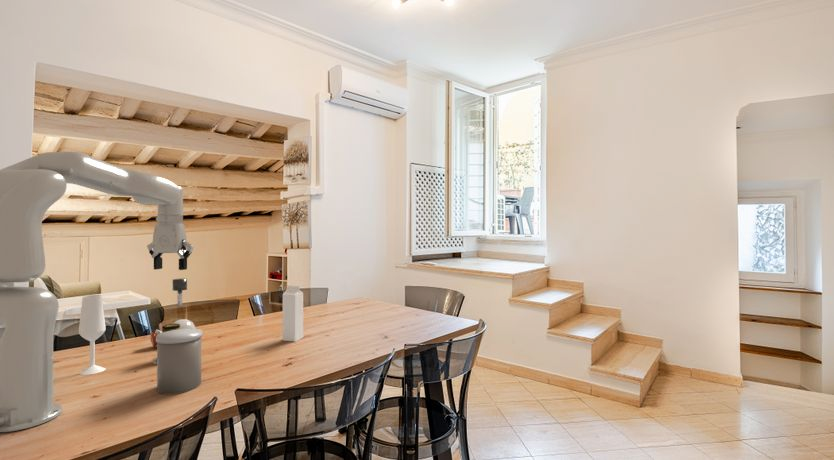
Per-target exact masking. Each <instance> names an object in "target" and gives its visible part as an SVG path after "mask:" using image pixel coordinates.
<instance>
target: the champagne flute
mask: <svg viewBox="0 0 834 460" xmlns="http://www.w3.org/2000/svg"><path fill="white" fill-rule="evenodd" d="M79 318H80V319H79V324H78V325H79V326H78V335H80V336H81V338H83V339H84V340H86V341H89V366H87V367H86V368H84V369H82V370H81V371H79V372H78V375H80V376H89V375H90V376H91V375H95V374H99V373H102V372H104V371H105V370H106V368H105V367H102V366H101V365H96V364H95V363H96V360H95V359H96V356H95V355H96V354H95V353H96V351H95V350H96V349H95V347H96V345H95V344H96V343H95V342H96V340H98V339H99V338H100V337H101V336H102V335H104V333H105V332H106V320H105V311H104V303H103V295H102V294H89V295H88V294H87V295H84V296H83V295H82V299H81V308H80V317H79Z"/></svg>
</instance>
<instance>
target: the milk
mask: <svg viewBox="0 0 834 460" xmlns="http://www.w3.org/2000/svg"><path fill="white" fill-rule="evenodd" d="M303 338H304V292H303V291H301V290H300V285H286V290H285V291H284V292H283V293H282V341H288V342H297V341H299V340H302V339H303Z"/></svg>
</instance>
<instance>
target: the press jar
mask: <svg viewBox="0 0 834 460" xmlns="http://www.w3.org/2000/svg"><path fill="white" fill-rule="evenodd" d="M203 334H204V333H203V330H202V329H200V328H199V329H198V328H195V329H178V330H172V331H167V332H163V333H160V334H158V335H157V336H156V342H157V346H156V347H157V348H156V352H157V356H156V357H157V364H156V371H157V372H156V380H157V381H156V382H157V383H156V387H157V389H156V390H157V392H158V393H159V394H164V395H171V394H172V395H174V394H175V395H176V394H180V393H185V392H189V391H192V390H194V389H197V388H198V387H200V386H201V384H202V337H203Z"/></svg>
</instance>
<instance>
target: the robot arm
mask: <svg viewBox="0 0 834 460" xmlns="http://www.w3.org/2000/svg"><path fill="white" fill-rule="evenodd" d="M67 184H69V185H70V184H72V185H77V186H80V187H84V188H87V189H90V190H94V191H97V192H101V193H104V194H108V195H111V196H119V197H131V198H132V199H133V200H134V202H136V203H138V204H140V205H146V206H156V205H157V216H156V218H155V221H157V223H156V224H155V225H154V229H153V235H152V242H150V243H149V244H148V245H146V247H147V250H148V252H149V255H151V258H152V259H153V270H162V269H163V257H162V256H163V254H177V255H178V257H179V258H178V270H179V271H184V270H185V271H186V270H187V269H188V259H189V258H190V255H191V254H192V252H193V250H194V248H195V247H194V245H193V244H191V243H190V242H188V240H187V232H186V227H185V224H183V223H184V215H183V214H184V189H183V187H182V186H180V185H177V184H176V183H175V182H173V181H171V180H169V179H166V178H164V177H161V176H158V175H154V174H150V173H146V172H142V171H138V170H133V169H130V168H129V169H128V168H125V167H121V166H117V165H114V164H112V163H110V162H108V161H107V162H106V161H104V160H101V159H99V158H97V157H94V156H91V155H88V154H85V153H82V152H78V151H50V152H43V153H40V154H37V155H35V156H32V157H28V158H27V159H24V160H22V161H19V162H16V163H14V164H11V165H9V166H6V167H4V168H1V169H0V328H4V331H3V333H2V336H1V337H0V433H9V432H15V431H21V430H24V429H25V430H26V429H29V428H34V427H36V426H39V425H43V424H44V423H47V422H50V421H52V420H53V419H55V418H57V417H58V416H59V415H61V413H62V411H63V410H62V409H63V408H62V407H63V406H62V405H60V404H59V403H54V335H55V334H54V332H55V326H56V321H57V316H58V312H59V309H60V308H59V307H60V306H59V300H58V298H57V296H56V295H55V293H52V291H50V290H48V289H45V288H41V287H35V286H15V283H28V282H32V281H35V280H37V279H38V278H40V277H41V276H42V275H43V274H44V273H45V270H46V257H45V256H46V255H45V249H44V248H45V246H44V240H43V239H44V238H43V229H42V228H43V226H42V225H43V223H42V222H43V219H44V216H45V214H46V212H47V211H48V209H50V207H51V206H52V205H54V204H55V203H57V202H58V201H59V200H60V199H61V198H62V197H63V196H64V195H65V193H66V190H67Z"/></svg>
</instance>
